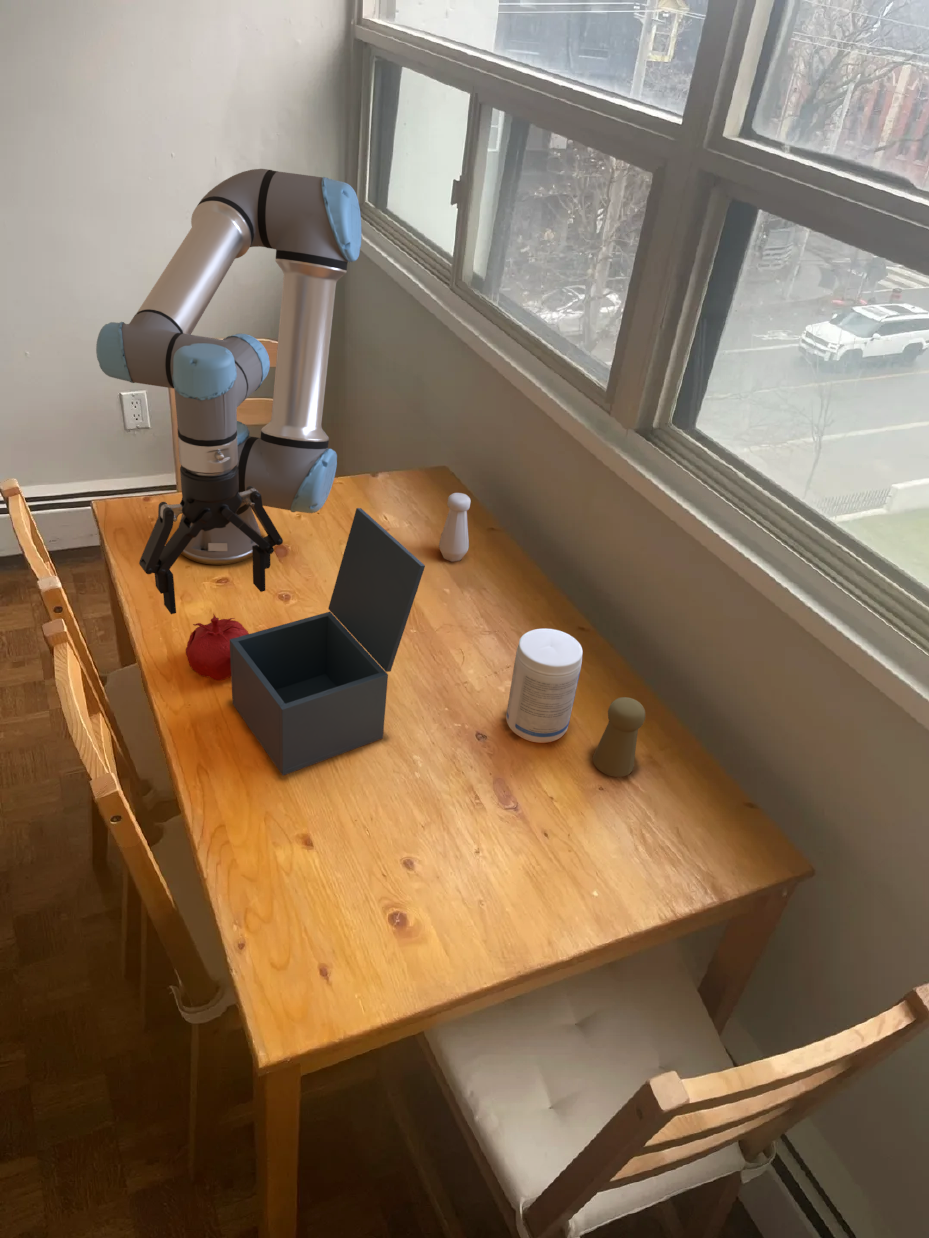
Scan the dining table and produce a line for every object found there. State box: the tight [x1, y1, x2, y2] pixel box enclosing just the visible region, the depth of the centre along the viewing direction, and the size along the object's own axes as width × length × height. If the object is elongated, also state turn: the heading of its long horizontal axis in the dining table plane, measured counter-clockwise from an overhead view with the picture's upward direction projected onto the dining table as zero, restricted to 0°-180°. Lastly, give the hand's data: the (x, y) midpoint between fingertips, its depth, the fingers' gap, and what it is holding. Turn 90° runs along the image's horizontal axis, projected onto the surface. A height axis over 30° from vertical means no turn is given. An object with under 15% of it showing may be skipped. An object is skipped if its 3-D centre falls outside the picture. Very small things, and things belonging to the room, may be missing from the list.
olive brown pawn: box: [592, 696, 646, 778], centre depth 129 cm, size 6×6×11 cm
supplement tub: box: [505, 628, 584, 744], centre depth 133 cm, size 10×10×15 cm
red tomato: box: [185, 614, 250, 681], centre depth 137 cm, size 10×10×9 cm
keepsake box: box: [230, 611, 389, 777], centre depth 128 cm, size 16×17×12 cm
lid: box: [327, 507, 426, 673], centre depth 125 cm, size 17×17×1 cm
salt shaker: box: [438, 492, 472, 563], centre depth 171 cm, size 6×6×13 cm
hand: (215, 597), depth 132 cm, fingers open, 13 cm apart
